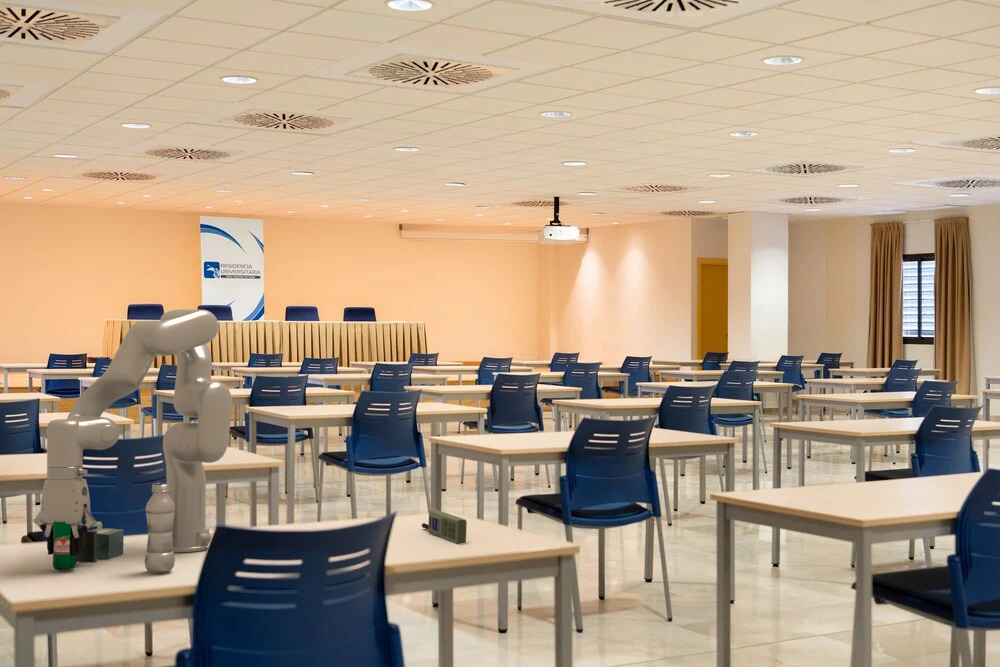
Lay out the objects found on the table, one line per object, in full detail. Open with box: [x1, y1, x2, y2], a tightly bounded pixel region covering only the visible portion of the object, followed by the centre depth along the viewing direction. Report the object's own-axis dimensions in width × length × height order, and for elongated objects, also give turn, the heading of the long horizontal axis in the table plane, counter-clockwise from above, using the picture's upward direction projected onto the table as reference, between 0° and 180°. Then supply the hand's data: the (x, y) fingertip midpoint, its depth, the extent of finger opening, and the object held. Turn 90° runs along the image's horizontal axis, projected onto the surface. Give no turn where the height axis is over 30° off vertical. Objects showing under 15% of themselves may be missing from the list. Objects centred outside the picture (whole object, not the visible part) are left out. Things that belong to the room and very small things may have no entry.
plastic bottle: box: [144, 482, 176, 574], centre depth 251 cm, size 6×7×20 cm
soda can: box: [52, 519, 78, 571], centre depth 253 cm, size 5×5×12 cm
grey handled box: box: [77, 521, 103, 564], centre depth 263 cm, size 10×8×8 cm
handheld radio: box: [421, 508, 468, 545], centre depth 300 cm, size 7×3×25 cm
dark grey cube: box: [90, 528, 125, 561], centre depth 269 cm, size 7×7×6 cm
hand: (64, 553), depth 253 cm, fingers closed on soda can, 5 cm apart
